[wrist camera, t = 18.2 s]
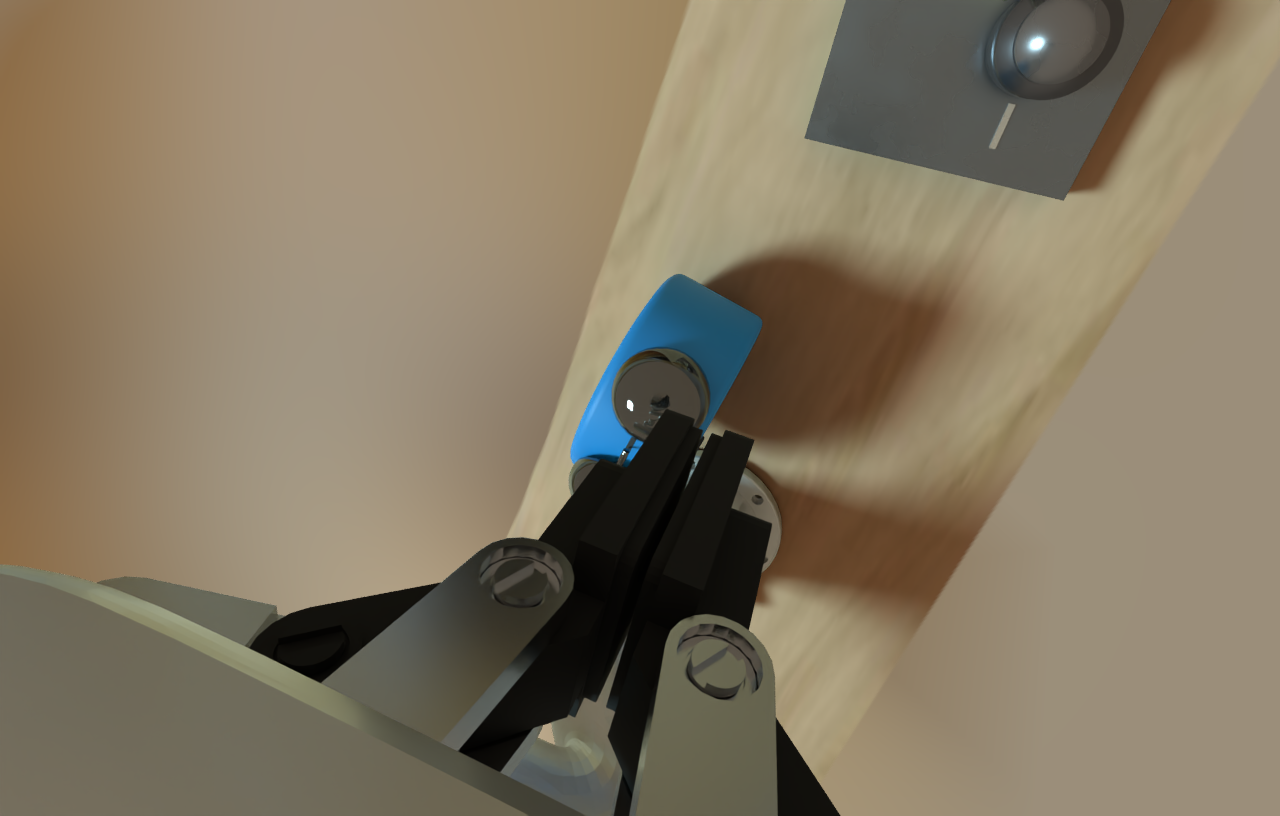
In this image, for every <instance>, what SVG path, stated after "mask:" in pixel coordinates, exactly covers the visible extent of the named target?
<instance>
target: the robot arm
mask: <svg viewBox="0 0 1280 816" xmlns="http://www.w3.org/2000/svg"><path fill="white" fill-rule="evenodd" d="M694 421H695V419H694V418H691V417H689V416H686V415H683V414H680V413H677V412H675V411H672V410H669V409H666V410H665V411H664V413H663V414H662V416H661V417H660V419H659V420H658V422H657V423H656V425H655V426H654V428H653V429H652V431H651V432H650V434H649V435H648V437H647V438H646V440H645V441H644V443H643V444H642V446H641V447H640V449H639V450H638V452H637V453H636V455H635V456H634V458H633V459H632V461H631V462H630V464H629V465H628V467H627V468H626V467H623V466H620V465H618V464H615V463H612V462H610V461H607V460H605V459H601V460H599V461H598V462H597V463H596V465H595V466H594V467H593V469H592V470H591V471H590V472H589V474H588V475H587V476H586V478H585V479H584V480H583V482H582V483H581V484H580V486H579V487H578V488H577V490H576V491H575V492H574V494H573V495H572V496H571V497H570V499H569V500H568V501H567V503H566V504H565V505H564V507H563V508H562V509H561V511H560V512H559V513H558V515H557V516H556V517H555V518H554V520H553V521H552V522H551V524H550V525H549V526H548V528H547V529H546V530H545V532H544V533H543V534H542V536H541V537H540V538H539V540H536V539H530V538H523V537H521V538H506V539H503V540H500V541H496V542H493V543H491V544H489V545H488V546H486V547H485V548H483V549H481V550H480V551H479V552H477V553H476V554H475V555H474V556H472V558H470V559H469V560H468V561H466V563H464V564H463V565H462V566H460V567H459V568H458V569H457V570H456V571H454V572H453V573H452V574H451V575H450V576H449V577H448V578H446V579H445V580H444V581H443V582H442V583H436V584H431V585H426V586H420V587H415V588H410V589H404V590H399V591H394V592H389V593H384V594H378V595H373V596H368V597H362V598H357V599H352V600H347V601H342V602H336V603H331V604H325V605H320V606H315V607H310V608H306V609H303V610H300V611H296V612H293V613H290V614H288V615H287V616H282V615H278V614H277V607H276V606H275V605H270V604H265V603H260V602H256V601H251V600H247V599H242V598H237V597H233V596H228V595H223V594H219V593H214V592H209V591H204V590H200V589H195V588H191V587H186V586H181V585H177V584H172V583H167V582H162V581H157V580H153V579H148V578H140V577H121V578H115V579H109V580H104V581H100V582H98V583H94V582H91V581H88V580H84V579H81V578H78V577H74V576H69V575H64V574H60V573H54V572H49V571H45V570H39V569H33V568H28V567H23V566H13V565H0V816H840V814H839V813H838V811H837V810H836V808H835V807H834V805H833V804H832V802H831V801H830V799H829V797H828V796H827V794H826V793H825V791H824V790H823V789H822V787H821V785H820V784H819V782H818V781H817V779H816V778H815V776H814V775H813V773H812V772H811V770H810V769H809V767H808V766H807V764H806V762H805V761H804V759H803V758H802V756H801V755H800V753H799V752H798V750H797V749H796V747H795V746H794V744H793V743H792V741H791V740H790V738H789V737H788V735H787V734H786V732H785V731H784V729H783V727H782V726H781V724H780V723H779V721H778V720H777V718H776V706H775V674H774V669H773V664H772V660H771V658H770V656H769V654H768V652H767V650H766V649H765V647H764V645H763V644H762V643H761V642H760V641H759V640H758V639H757V638H756V636H755V635H754V634H753V633H751V632H750V631H749V626H750V622H751V618H752V613H753V609H754V604H755V600H756V596H757V591H758V587H759V582H760V578H761V573H762V572H763V571H764V570H766V569H767V568H768V567H769V566H770V564H771V563H772V561H773V560H774V558H775V556H776V554H777V551H778V548H779V545H780V540H781V534H782V521H781V515H780V512H779V509H778V505H777V503H776V501H775V500H774V498H773V496H772V494H771V492H770V491H769V490H768V488H767V487H766V486H765V485H764V483H763V482H762V481H761V480H760V479H759V478H758V477H757V476H756V475H754V474H753V473H752V472H751V471H750V470H749V469H747V468H745V466H746V463H747V460H748V458H749V455H750V452H751V449H752V446H753V443H754V440H753V439H750V438H747V437H745V436H742V435H739V434H736V433H733V432H731V431H728V430H725V432H724V435H723V437H721V436H718V435H716V434H713V433H712V434H711V436H710V438H709V440H708V442H707V444H706V446H705V448H704V450H698V451H697V449H698V446H699V443H700V440H701V437H702V433H703V430H702V429H699V428H696V427H693V426H694ZM548 723H551V724H552V731H553V736H554V741H555V745H553V744H551V743H549V742H546V741H544V740H542V739H540V738H538V735H539V734H540V731H541V730H542V726H543V725H545V724H548Z"/></svg>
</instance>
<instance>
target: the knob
mask: <svg viewBox="0 0 1280 816" xmlns="http://www.w3.org/2000/svg"><path fill="white" fill-rule="evenodd" d="M1123 27H1124V11H1123V6H1122V3H1121V0H1016V1H1015V2H1014V3H1013V4H1011V5H1010V6H1009V7H1008V8H1007V9H1006V10H1005V11H1004V13H1003V14H1002V15H1001V16H1000V18H999V19H998V21H997V22H996V24H995V25H994V27H993V29H992V31H991V34H990V36H989V39H988V42H987V47H986V55H985V58H986V67H987V71H988V74H989V76H990V78H991V80H992V82H993V83H994V84H995V86H996V87H998V88H999V89H1000V90H1001V91H1003V92H1004V93H1006V94H1008V95H1010V96H1013V97H1017V98H1024V99H1032V100H1051V99H1056V98H1060V97H1063V96H1066V95H1069V94H1071V93H1073V92H1075V91H1077V90H1079V89H1081V88H1082V87H1084V86H1085V85H1087V84H1088V83H1089V82H1091V81H1092V80H1093V79H1094V78H1095V77H1096V76H1097V75H1099V74H1100V72H1101V71H1102V70H1103V69H1104V68H1105V67H1106V66H1107V64H1108V63H1109V61H1110V60H1111V59H1112V57H1113V55H1114V53H1115V52H1116V50H1117V47H1118V45H1119V43H1120V40H1121V37H1122V33H1123Z"/></svg>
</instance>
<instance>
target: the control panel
mask: <svg viewBox="0 0 1280 816" xmlns="http://www.w3.org/2000/svg"><path fill="white" fill-rule="evenodd" d="M1015 1H1016V0H846V2H845V6H844V9H843V12H842V16H841V19H840V22H839V25H838V29H837V32H836V35H835V39H834V42H833V45H832V49H831V52H830V55H829V59H828V62H827V65H826V69H825V72H824V75H823V78H822V82H821V85H820V88H819V92H818V95H817V98H816V102H815V105H814V108H813V112H812V115H811V118H810V122H809V125H808V128H807V132H806V135H805V139H810V140H814V141H818V142H822V143H826V144H830V145H835V146H839V147H843V148H847V149H851V150H855V151H859V152H864V153H868V154H872V155H876V156H880V157H884V158H889V159H893V160H897V161H901V162H905V163H909V164H914V165H918V166H922V167H926V168H930V169H934V170H938V171H943V172H947V173H951V174H955V175H959V176H963V177H968V178H972V179H976V180H980V181H984V182H988V183H993V184H997V185H1001V186H1005V187H1009V188H1013V189H1018V190H1022V191H1026V192H1030V193H1034V194H1038V195H1042V196H1047V197H1051V198H1055V199H1059V200H1063V201H1064V199H1065V197H1066V195H1067V193H1068V192H1069V190H1070V188H1071V186H1072V184H1073V182H1074V180H1075V179H1076V177H1077V175H1078V173H1079V171H1080V169H1081V167H1082V165H1083V164H1084V162H1085V160H1086V158H1087V156H1088V154H1089V152H1090V151H1091V149H1092V147H1093V145H1094V143H1095V141H1096V139H1097V137H1098V136H1099V134H1100V132H1101V130H1102V128H1103V126H1104V124H1105V123H1106V121H1107V119H1108V117H1109V115H1110V113H1111V111H1112V110H1113V108H1114V106H1115V104H1116V102H1117V100H1118V98H1119V96H1120V95H1121V93H1122V91H1123V89H1124V87H1125V85H1126V83H1127V82H1128V80H1129V78H1130V76H1131V74H1132V72H1133V70H1134V68H1135V67H1136V65H1137V63H1138V61H1139V59H1140V57H1141V55H1142V54H1143V52H1144V50H1145V48H1146V46H1147V44H1148V42H1149V40H1150V39H1151V37H1152V35H1153V33H1154V31H1155V29H1156V27H1157V26H1158V24H1159V22H1160V20H1161V18H1162V16H1163V14H1164V13H1165V11H1166V9H1167V7H1168V5H1169V3H1170V1H1171V0H1121V3H1122V6H1123V11H1124V27H1123V33H1122V37H1121V40H1120V43H1119V45H1118V47H1117V50H1116V52H1115V53H1114V55H1113V57H1112V59H1111V60H1110V61H1109V63H1108V64H1107V66H1106V67H1105V68H1104V69H1103V70H1102V71H1101V72H1100V74H1099V75H1097V76H1096V77H1095V78H1094V79H1093V80H1092V81H1091V82H1089V83H1088V84H1087V85H1085V86H1084V87H1082V88H1081V89H1079V90H1077V91H1075V92H1073V93H1071V94H1069V95H1066V96H1063V97H1060V98H1056V99H1051V100H1032V99H1024V98H1017V97H1013V96H1010V95H1008V94H1006V93H1004V92H1003V91H1001V90H1000V89H999V88H998V87H996V86H995V84H994V83H993V82H992V80H991V78H990V76H989V74H988V71H987V67H986V58H985V55H986V47H987V42H988V39H989V36H990V34H991V31H992V29H993V27H994V25H995V24H996V22H997V21H998V19H999V18H1000V16H1001V15H1002V14H1003V13H1004V11H1005V10H1006V9H1007V8H1008V7H1009V6H1010V5H1011V4H1013V3H1014V2H1015Z"/></svg>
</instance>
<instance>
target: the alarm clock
mask: <svg viewBox="0 0 1280 816" xmlns="http://www.w3.org/2000/svg"><path fill="white" fill-rule="evenodd" d="M761 328H762V320H761V318H760V317H759V316H757V315H755V314H753V313H752V312H750V311H748V310H746V309H744V308H743V307H741V306H739V305H737V304H735V303H734V302H732V301H730V300H728V299H726V298H725V297H723V296H721V295H719V294H717V293H716V292H714V291H712V290H710V289H708V288H707V287H705V286H703V285H701V284H699V283H698V282H696V281H694V280H692V279H690V278H689V277H687V276H685V275H682V274H676V275H674V276H672V277H670V278H669V279H667V280H666V281H665V282H664V283H663V284H662V285H661V287H660V288H659V289H658V290H657V291H656V293H655V294H654V295H653V296H652V298H651V299H650V300H649V302H648V303H647V305H646V306H645V307H644V309H643V310H642V312H641V313H640V315H639V316H638V317H637V319H636V321H635V322H634V324H633V325H632V327H631V328H630V330H629V331H628V333H627V335H626V336H625V338H624V339H623V341H622V343H621V344H620V346H619V348H618V350H617V351H616V353H615V355H614V356H613V358H612V360H611V362H610V363H609V365H608V367H607V369H606V371H605V372H604V374H603V376H602V378H601V380H600V382H599V384H598V386H597V388H596V390H595V392H594V393H593V395H592V398H591V400H590V402H589V404H588V406H587V408H586V410H585V412H584V415H583V417H582V419H581V421H580V424H579V426H578V429H577V431H576V434H575V437H574V440H573V443H572V447H571V460H572V462H573V463H574V465H573V467H572V469H571V471H570V475H569V489H570V493H571V496H572V495H573V494H574V492H575V491H576V490H577V488H578V487H579V486H580V484H581V483H582V482H583V480H584V479H585V478H586V476H587V475H588V474H589V472H590V471H591V470H592V469H593V467H594V466H595V465H596V463H597V462H598V461H599V460H601V459H605V460H607V461H610V462H612V463H615V464H618V465H620V466H623V467H626V468H627V467H628V465H629V464H630V462H631V461H632V459H633V458H634V456H635V455H636V453H637V452H638V450H639V449H640V447H641V446H642V444H643V443H644V441H645V440H646V438H647V437H648V435H649V434H650V432H651V431H652V429H653V428H654V426H655V425H656V423H657V422H658V420H659V419H660V417H661V416H662V414H663V413H664V411H665V410H666V409H669V410H672V411H675V412H677V413H680V414H683V415H686V416H689V417H691V418H694V419H695V421H694V426H693V427H696V428H699V429H702V430H703V433H702V437H701V440H700V443H699V446H700V445H701V444H702V442H703V440H704V436H703V435H704V433H705V431H706V430H707V428H708V426H709V425H710V423H711V421H712V419H713V418H714V416H715V414H716V412H717V411H718V409H719V407H720V405H721V404H722V402H723V400H724V398H725V397H726V395H727V393H728V391H729V390H730V388H731V386H732V384H733V382H734V381H735V379H736V377H737V375H738V373H739V372H740V370H741V368H742V366H743V364H744V362H745V360H746V359H747V357H748V355H749V353H750V351H751V349H752V347H753V345H754V343H755V341H756V339H757V337H758V335H759V333H760V330H761ZM699 446H698V449H697V451H698V450H699V448H700V447H699Z"/></svg>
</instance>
